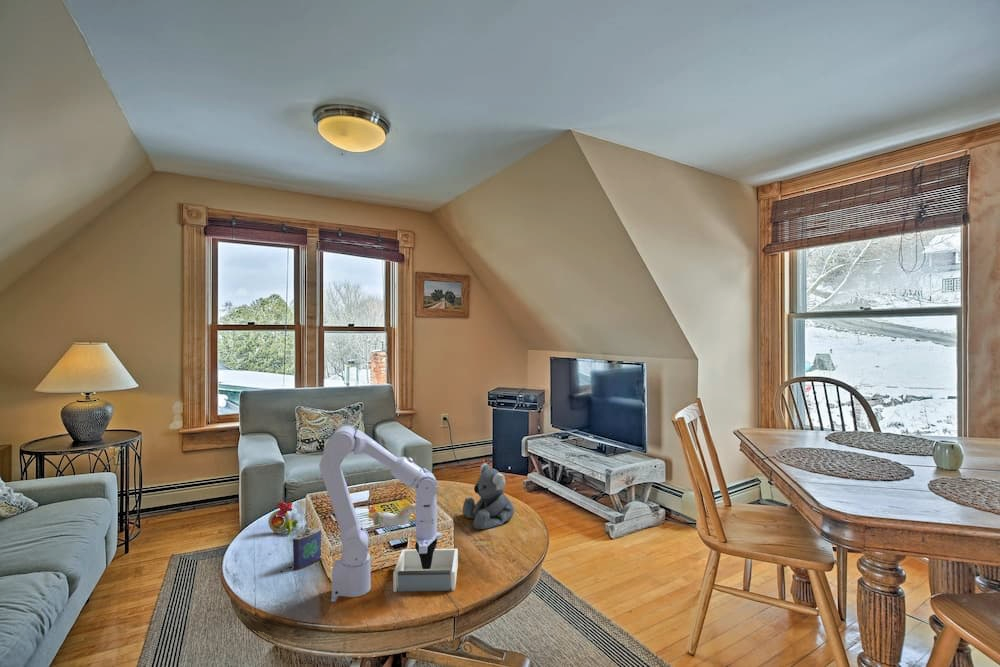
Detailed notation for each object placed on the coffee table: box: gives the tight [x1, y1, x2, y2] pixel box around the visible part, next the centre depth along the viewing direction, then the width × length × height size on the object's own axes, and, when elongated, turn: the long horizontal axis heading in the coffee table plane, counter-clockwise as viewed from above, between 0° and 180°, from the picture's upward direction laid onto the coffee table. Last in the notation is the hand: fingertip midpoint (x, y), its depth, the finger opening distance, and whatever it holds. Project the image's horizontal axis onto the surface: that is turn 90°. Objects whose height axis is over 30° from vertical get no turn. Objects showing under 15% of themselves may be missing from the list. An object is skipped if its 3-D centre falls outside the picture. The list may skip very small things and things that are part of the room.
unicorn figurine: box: [372, 502, 416, 526], centre depth 153 cm, size 7×20×13 cm, turn 86°
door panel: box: [397, 570, 451, 592], centre depth 123 cm, size 14×1×5 cm, turn 92°
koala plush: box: [462, 462, 515, 530], centre depth 172 cm, size 17×18×20 cm
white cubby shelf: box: [392, 548, 459, 593], centre depth 129 cm, size 16×13×6 cm
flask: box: [292, 526, 322, 571], centre depth 140 cm, size 9×3×11 cm, turn 148°
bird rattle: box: [268, 501, 299, 535], centre depth 161 cm, size 6×11×9 cm
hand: (426, 567), depth 127 cm, fingers closed
